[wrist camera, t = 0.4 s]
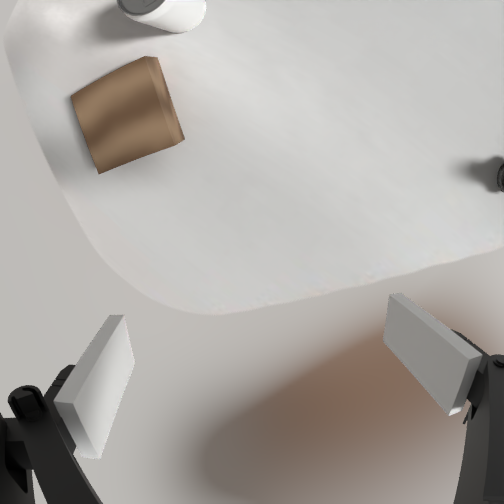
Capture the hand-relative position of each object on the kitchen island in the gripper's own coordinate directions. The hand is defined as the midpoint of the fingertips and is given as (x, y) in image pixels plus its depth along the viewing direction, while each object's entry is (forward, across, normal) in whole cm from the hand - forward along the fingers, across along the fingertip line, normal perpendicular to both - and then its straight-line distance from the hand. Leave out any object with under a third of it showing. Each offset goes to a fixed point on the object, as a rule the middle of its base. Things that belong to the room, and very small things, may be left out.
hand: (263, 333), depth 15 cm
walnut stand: (+29, -13, +17) cm, 36 cm away
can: (+24, -6, +29) cm, 38 cm away
